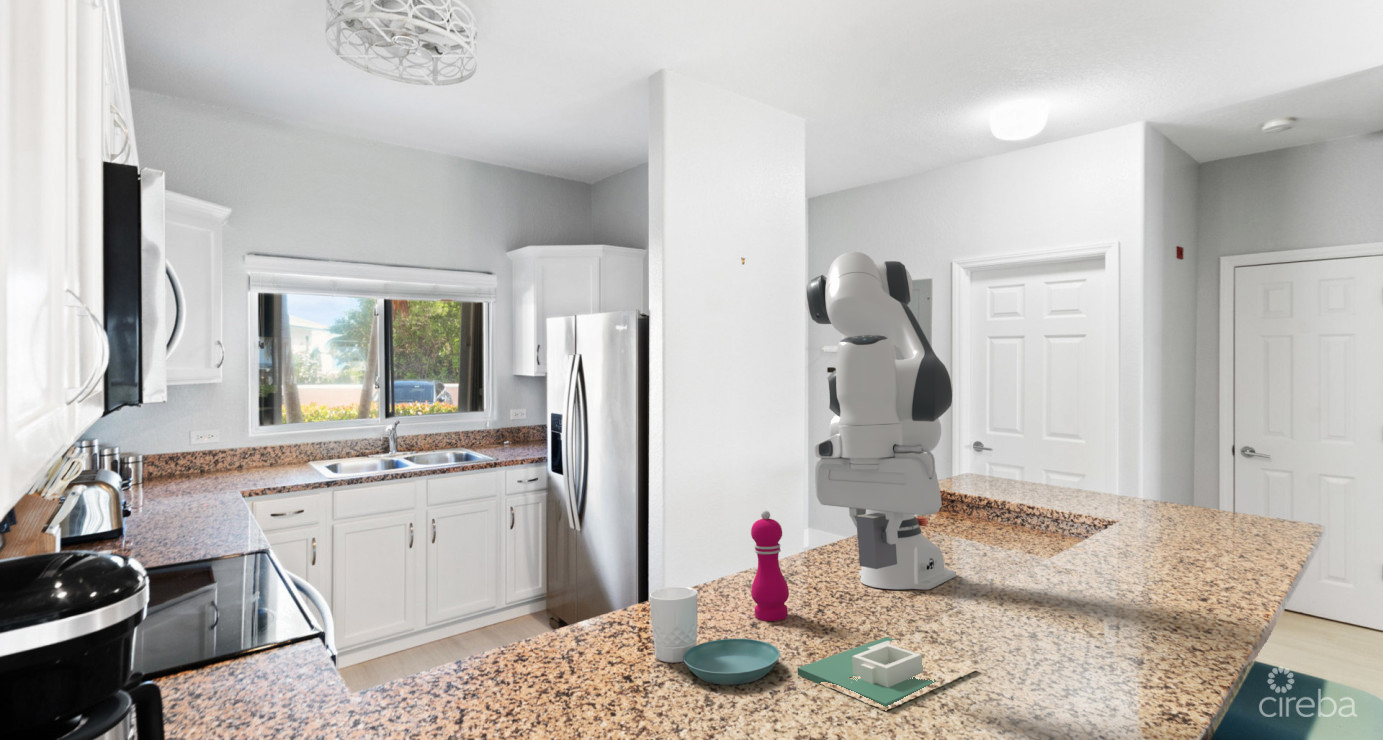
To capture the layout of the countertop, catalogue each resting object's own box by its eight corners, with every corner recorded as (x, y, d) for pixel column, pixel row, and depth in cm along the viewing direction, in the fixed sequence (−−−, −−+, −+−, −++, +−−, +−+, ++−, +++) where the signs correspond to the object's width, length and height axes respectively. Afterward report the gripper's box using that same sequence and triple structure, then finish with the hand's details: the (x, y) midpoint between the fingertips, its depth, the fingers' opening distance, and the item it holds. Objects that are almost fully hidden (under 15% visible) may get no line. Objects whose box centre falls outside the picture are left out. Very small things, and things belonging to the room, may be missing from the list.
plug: (880, 561, 96) (877, 511, 97) (897, 564, 94) (893, 513, 94) (859, 565, 94) (856, 515, 94) (876, 569, 91) (872, 517, 92)
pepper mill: (789, 622, 121) (782, 512, 122) (750, 622, 122) (744, 513, 124) (791, 610, 128) (785, 507, 129) (754, 610, 129) (748, 508, 131)
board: (886, 643, 108) (885, 621, 108) (976, 671, 94) (974, 646, 95) (797, 674, 96) (796, 650, 96) (885, 711, 83) (883, 683, 83)
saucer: (742, 647, 109) (741, 631, 110) (801, 674, 97) (800, 655, 97) (666, 669, 102) (665, 652, 102) (720, 701, 89) (719, 681, 89)
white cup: (683, 667, 101) (680, 601, 102) (642, 660, 105) (639, 596, 106) (709, 651, 108) (706, 589, 109) (669, 644, 112) (667, 584, 113)
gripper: (947, 443, 88) (955, 547, 87) (834, 443, 105) (840, 530, 104) (917, 446, 85) (925, 554, 84) (806, 445, 102) (811, 536, 100)
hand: (877, 541), depth 94 cm, fingers closed on plug, 3 cm apart
